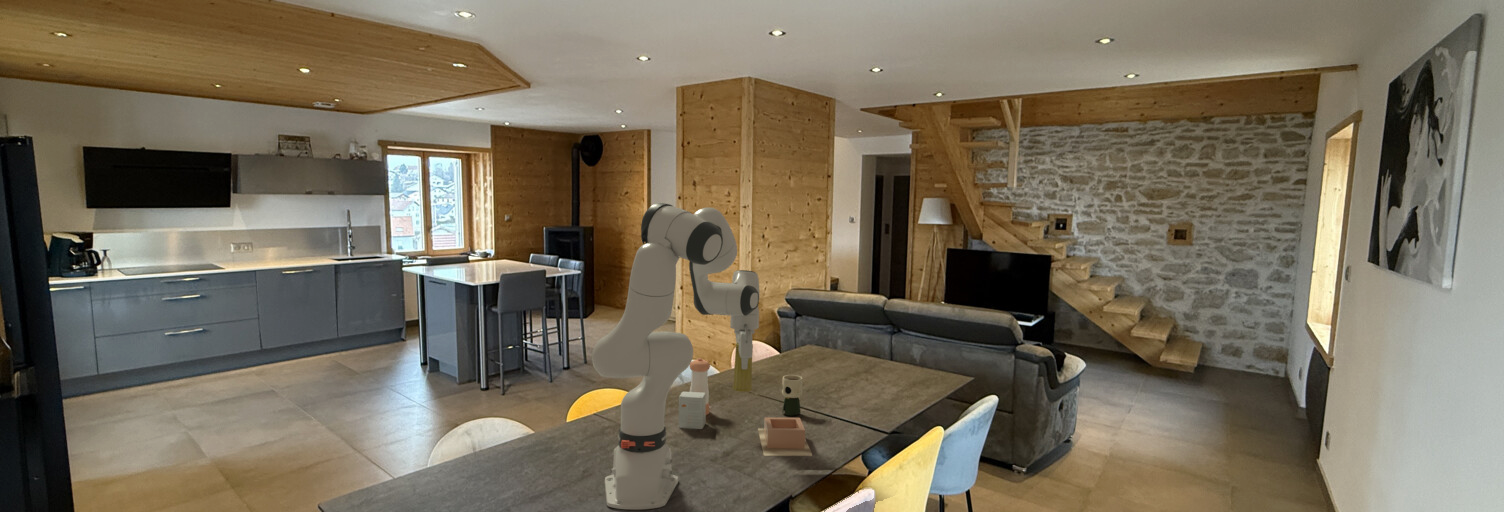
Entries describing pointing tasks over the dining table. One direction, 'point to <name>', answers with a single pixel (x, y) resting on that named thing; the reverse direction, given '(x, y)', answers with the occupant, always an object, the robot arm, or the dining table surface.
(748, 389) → the vase
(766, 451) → the board
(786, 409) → the character mug
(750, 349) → the robot arm
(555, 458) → the dining table surface
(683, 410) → the small box
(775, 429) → the pink open box
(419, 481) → the dining table surface
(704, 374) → the pepper shaker
